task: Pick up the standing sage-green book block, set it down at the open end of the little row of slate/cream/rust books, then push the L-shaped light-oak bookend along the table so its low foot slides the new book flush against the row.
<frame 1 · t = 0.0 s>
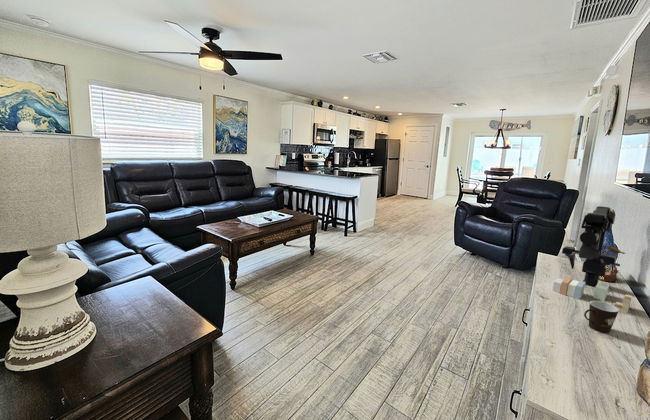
hand: (584, 271, 141), 15 cm above the table, fingers open, 9 cm apart
music box: (600, 277, 170), on the table
coffee mug: (594, 328, 121), on the table
bookend: (624, 309, 136), on the table
book row: (571, 293, 150), on the table
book: (600, 296, 148), on the table
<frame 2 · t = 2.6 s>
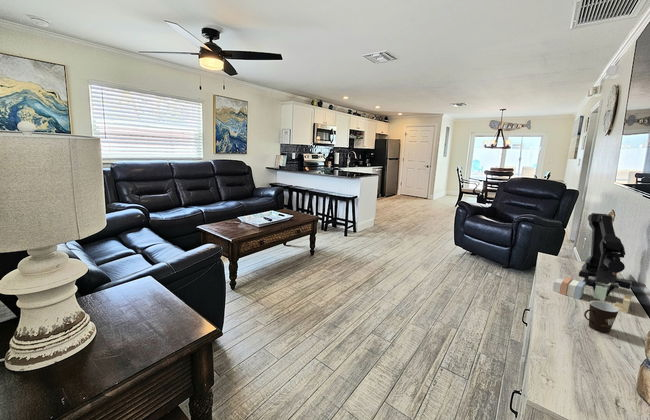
hand: (600, 294, 147), 1 cm above the table, fingers closed on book, 4 cm apart
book: (600, 296, 148), on the table, touching gripper
everything else where it was.
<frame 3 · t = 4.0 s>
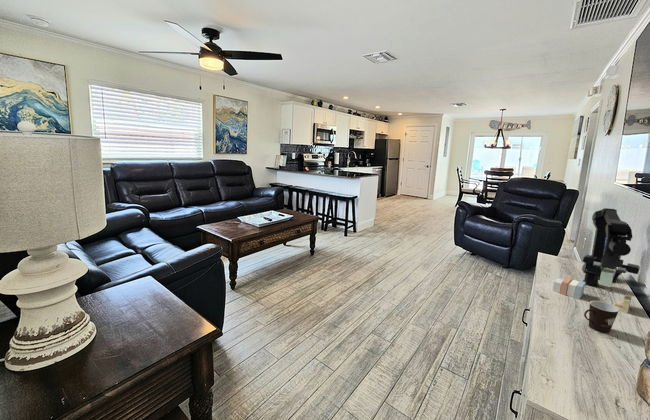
hand: (606, 281, 139), 11 cm above the table, fingers closed on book, 4 cm apart
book: (606, 283, 140), point 10 cm above the table, touching gripper
everything else where it was.
when the fingers open (2 cm above the table, at t = 5.9 s): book stays where it is, on the table.
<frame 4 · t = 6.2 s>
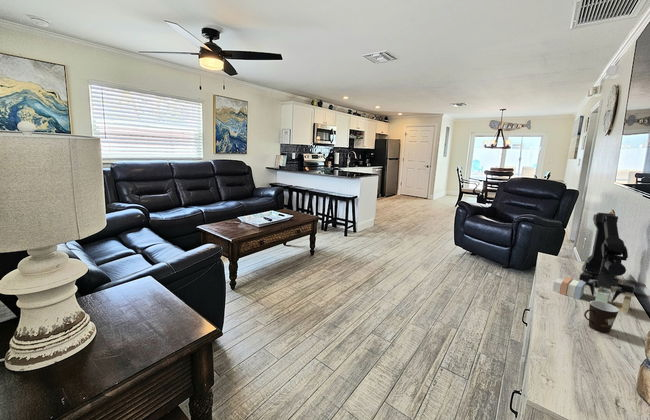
hand: (602, 298, 141), 2 cm above the table, fingers open, 7 cm apart
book: (601, 302, 142), on the table
everything else where it was.
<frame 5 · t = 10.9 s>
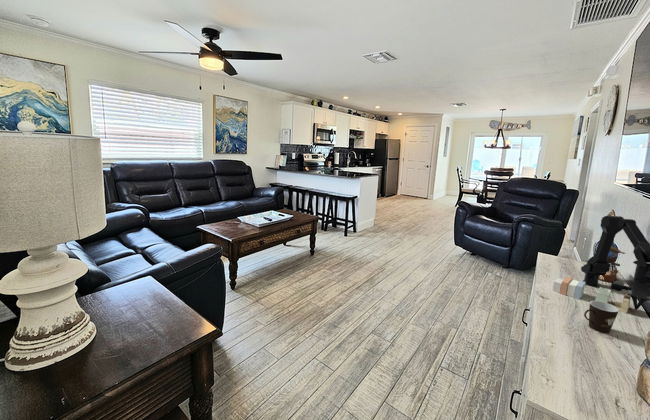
hand: (636, 309, 133), 2 cm above the table, fingers closed
bookend: (624, 309, 136), on the table, touching gripper
everything else where it was.
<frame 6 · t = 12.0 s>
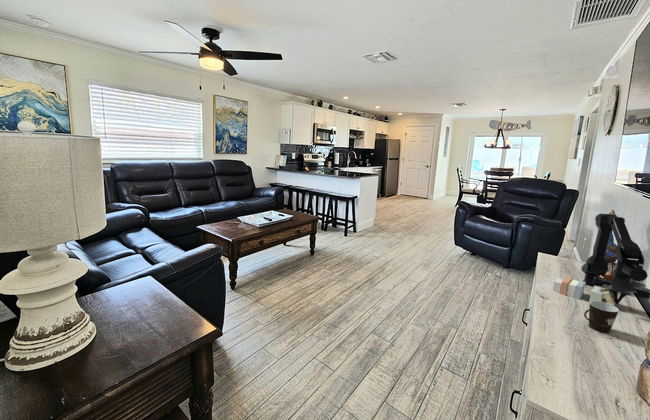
hand: (616, 303, 137), 2 cm above the table, fingers closed
bookend: (612, 302, 138), point 2 cm above the table, tilted 27°, touching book, gripper
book: (595, 301, 143), on the table, touching bookend
everything else where it was.
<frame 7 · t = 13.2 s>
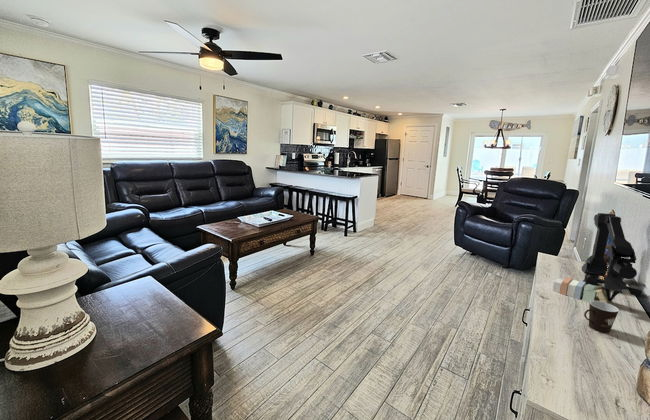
hand: (609, 301, 139), 2 cm above the table, fingers closed
bookend: (605, 300, 140), point 2 cm above the table, tilted 27°, touching gripper
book: (589, 299, 145), on the table
everything else where it was.
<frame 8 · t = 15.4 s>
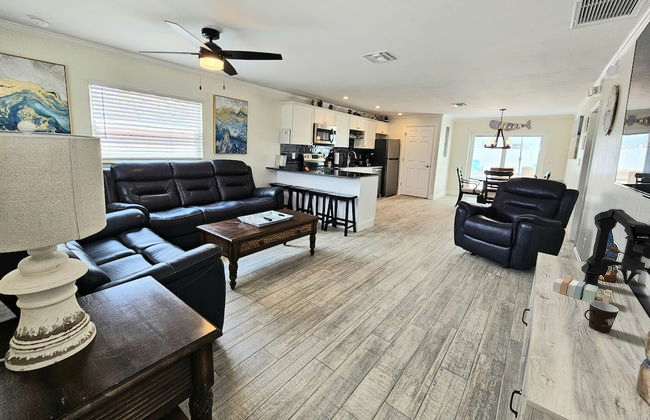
hand: (626, 284, 134), 12 cm above the table, fingers closed
bookend: (605, 304, 140), on the table
everything else where it was.
at the end: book 0.5 cm from the target spot, on the table; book tilted 0°; bookend 0.6 cm from the target spot, on the table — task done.
